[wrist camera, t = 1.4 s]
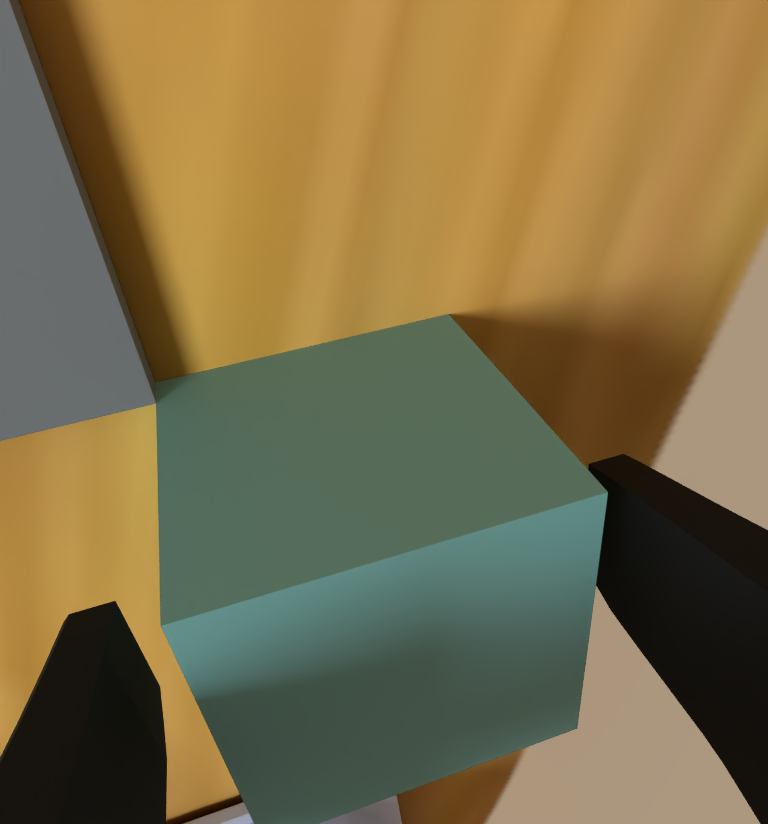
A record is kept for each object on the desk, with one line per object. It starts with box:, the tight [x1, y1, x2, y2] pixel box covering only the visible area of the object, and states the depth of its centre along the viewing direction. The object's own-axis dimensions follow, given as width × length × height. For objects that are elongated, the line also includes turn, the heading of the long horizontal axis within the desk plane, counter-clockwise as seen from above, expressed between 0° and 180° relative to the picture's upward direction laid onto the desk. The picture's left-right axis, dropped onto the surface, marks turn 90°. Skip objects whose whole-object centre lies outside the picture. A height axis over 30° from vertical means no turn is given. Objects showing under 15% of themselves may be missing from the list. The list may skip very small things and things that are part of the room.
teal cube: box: [156, 314, 608, 824], centre depth 10 cm, size 5×5×5 cm
